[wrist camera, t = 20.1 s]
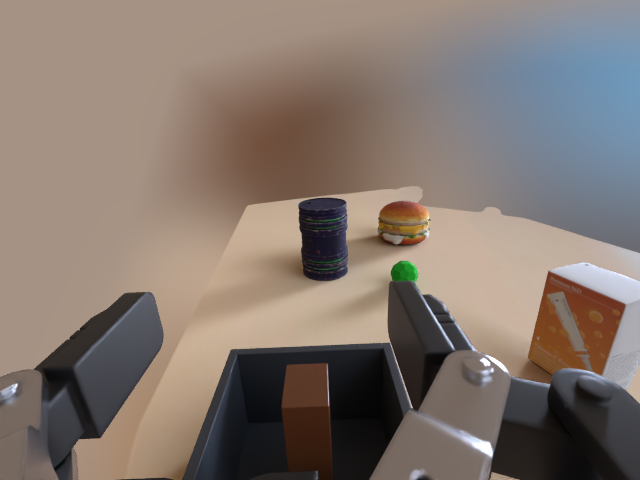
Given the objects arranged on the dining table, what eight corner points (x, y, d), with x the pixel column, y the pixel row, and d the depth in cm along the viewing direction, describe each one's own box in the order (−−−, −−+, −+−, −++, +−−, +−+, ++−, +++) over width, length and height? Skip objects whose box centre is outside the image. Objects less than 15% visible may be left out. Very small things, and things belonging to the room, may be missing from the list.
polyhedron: (388, 279, 64) (388, 258, 63) (412, 278, 65) (413, 256, 63) (394, 292, 60) (395, 269, 58) (420, 290, 60) (422, 267, 58)
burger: (434, 234, 88) (437, 198, 84) (421, 251, 77) (424, 211, 73) (386, 228, 94) (387, 194, 91) (369, 243, 83) (369, 206, 80)
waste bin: (191, 641, 20) (156, 547, 17) (243, 424, 35) (230, 349, 32) (437, 632, 20) (453, 535, 17) (387, 418, 35) (389, 342, 31)
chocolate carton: (294, 522, 25) (281, 407, 21) (297, 470, 29) (286, 364, 25) (334, 520, 25) (329, 405, 21) (332, 468, 29) (327, 362, 25)
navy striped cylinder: (353, 263, 72) (353, 198, 67) (340, 284, 64) (338, 211, 59) (312, 259, 76) (309, 196, 71) (294, 277, 67) (289, 208, 62)
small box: (526, 358, 42) (546, 269, 38) (561, 346, 44) (584, 260, 40) (592, 407, 35) (627, 303, 30) (631, 390, 37) (669, 290, 32)
